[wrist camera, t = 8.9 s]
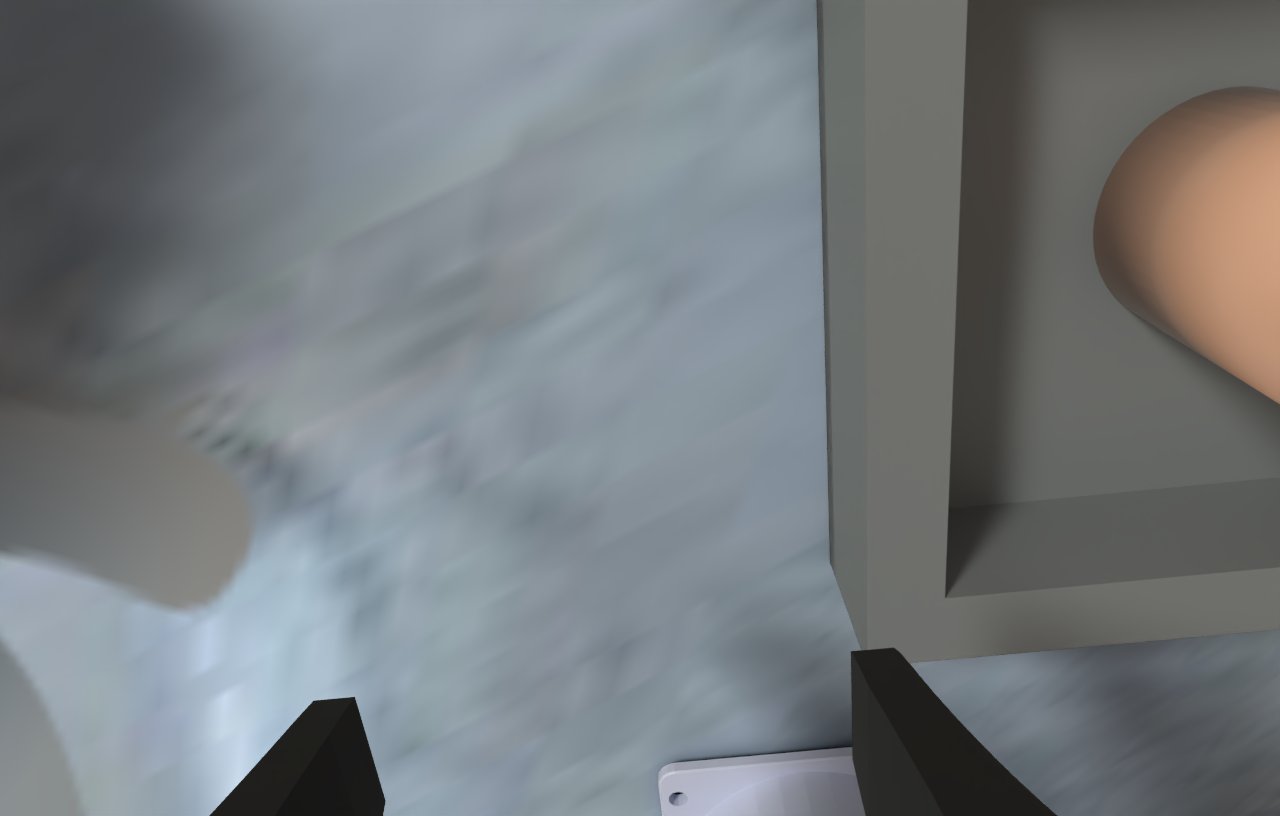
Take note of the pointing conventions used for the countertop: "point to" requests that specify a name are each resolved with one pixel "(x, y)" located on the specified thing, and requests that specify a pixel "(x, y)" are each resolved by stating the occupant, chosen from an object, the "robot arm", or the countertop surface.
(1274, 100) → the peach rounded cylinder
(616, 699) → the countertop surface
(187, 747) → the countertop surface
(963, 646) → the bin
